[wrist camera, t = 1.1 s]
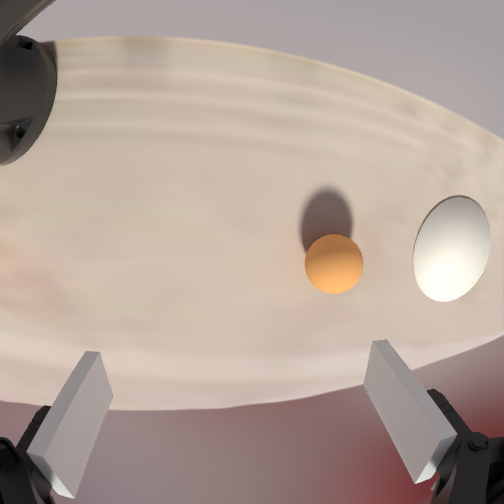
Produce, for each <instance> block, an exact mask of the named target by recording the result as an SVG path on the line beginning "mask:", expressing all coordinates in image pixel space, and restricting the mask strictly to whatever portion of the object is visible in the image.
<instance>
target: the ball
mask: <svg viewBox="0 0 504 504" xmlns="http://www.w3.org/2000/svg"><path fill="white" fill-rule="evenodd" d="M305 270H306V274H307V276H308V278H309V280H310V281H311V283H312V284H313V285H314V286H315V287H316V288H318V289H320V290H321V291H323V292H327V293H341V292H344V291H347V290H349V289H350V288H352V287H353V286H354V285H355V284H356V283H357V281H358V280H359V278H360V276H361V274H362V270H363V257H362V254H361V251H360V249H359V248H358V246H357V245H356V244H355V243H354V242H353V241H352V240H351V239H349V238H347V237H345V236H343V235H338V234H330V235H326V236H323V237H321V238H319V239H318V240H316V241H315V242H314V243H313V244H312V245H311V247H310V248H309V250H308V252H307V254H306V258H305Z"/></svg>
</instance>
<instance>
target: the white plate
mask: <svg viewBox="0 0 504 504" xmlns="http://www.w3.org/2000/svg"><path fill="white" fill-rule="evenodd" d="M490 245H491V233H490V226H489V222H488V219H487V217H486V215H485V213H484V211H483V210H482V209H481V207H480V206H479V205H478V204H477V203H475V202H474V201H472V200H470V199H467V198H462V197H456V198H451V199H448V200H446V201H444V202H442V203H441V204H439V205H438V206H437V207H436V208H435V209H434V210H433V211H432V212H431V213H430V214H429V215H428V217H427V218H426V220H425V221H424V223H423V225H422V227H421V229H420V231H419V233H418V236H417V239H416V243H415V247H414V253H413V269H414V275H415V278H416V281H417V284H418V286H419V287H420V289H421V290H422V291H423V293H424V294H426V295H427V296H428V297H430V298H431V299H433V300H436V301H450V300H454V299H456V298H458V297H460V296H462V295H463V294H465V293H466V292H467V291H469V290H470V289H471V288H472V287H473V285H474V284H475V283H476V282H477V280H478V279H479V277H480V276H481V274H482V272H483V270H484V268H485V266H486V263H487V260H488V257H489V252H490Z"/></svg>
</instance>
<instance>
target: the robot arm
mask: <svg viewBox="0 0 504 504" xmlns="http://www.w3.org/2000/svg"><path fill="white" fill-rule="evenodd" d="M54 1H55V0H0V166H2V165H6V164H9V163H12V162H14V161H15V160H17V159H18V158H20V157H21V156H22V155H24V154H25V153H26V152H27V151H28V150H29V149H30V147H31V146H32V145H33V144H34V143H35V141H36V140H37V138H38V137H39V135H40V134H41V132H42V130H43V128H44V126H45V124H46V122H47V120H48V117H49V115H50V112H51V109H52V105H53V101H54V97H55V91H56V70H55V64H54V61H53V58H52V56H51V54H50V52H49V51H48V49H47V48H46V47H45V46H44V45H42V44H41V43H39V42H37V41H35V40H33V39H31V38H29V37H25V36H20V35H16V34H17V33H18V32H19V31H20V30H21V29H22V28H23V27H24V26H25V25H27V24H28V23H29V22H30V21H31V20H32V19H33V18H34V17H36V16H37V15H38V14H39V13H40V12H42V11H43V10H44V9H45V8H46V7H48V6H49V5H50V4H51V3H53V2H54ZM363 386H364V388H365V390H366V392H367V393H368V395H369V397H370V399H371V401H372V403H373V405H374V406H375V408H376V410H377V412H378V414H379V416H380V418H381V419H382V421H383V423H384V425H385V427H386V429H387V431H388V432H389V435H390V437H391V438H392V440H393V442H394V444H395V446H396V448H397V450H398V452H399V454H400V456H401V458H402V460H403V462H404V464H405V466H406V468H407V470H408V471H409V473H410V475H411V477H412V479H413V481H414V483H415V484H416V483H419V482H421V481H424V480H427V479H429V478H431V477H432V476H433V474H434V473H435V471H436V469H437V471H438V473H439V475H440V476H439V477H438V479H437V481H436V482H435V483H434V485H433V486H432V488H431V490H433V489H434V488H435V489H434V493H433V496H432V499H431V502H430V504H504V437H497V438H490V439H489V438H488V437H487V436H485V435H484V434H482V433H479V432H472V431H471V430H470V429H469V428H468V426H467V425H466V424H465V422H464V421H463V420H462V418H461V417H460V416H459V415H458V413H457V412H456V411H455V410H454V408H453V407H452V406H451V404H449V402H448V401H447V399H446V398H445V396H444V395H443V394H441V393H439V392H438V391H437V390H435V389H431V390H427V391H426V390H425V389H424V387H423V386H422V385H421V384H420V382H419V381H418V379H417V378H416V377H415V376H414V374H413V373H412V372H411V370H410V369H409V368H408V366H407V365H406V364H405V362H404V361H403V360H402V359H401V357H400V356H399V355H398V353H397V352H396V351H395V350H394V348H393V347H392V346H391V345H390V343H389V342H388V341H387V339H386V340H379V341H372V346H371V351H370V357H369V362H368V366H367V371H366V376H365V380H364V385H363ZM112 398H113V393H112V390H111V387H110V384H109V381H108V378H107V375H106V372H105V368H104V365H103V362H102V358H101V355H100V352H91V351H86V352H85V353H84V355H83V356H82V358H81V359H80V361H79V362H78V364H77V366H76V367H75V369H74V370H73V372H72V374H71V375H70V377H69V378H68V380H67V382H66V383H65V385H64V387H63V388H62V390H61V392H60V393H59V395H58V397H57V398H56V400H55V402H54V403H53V405H52V407H51V406H46V405H45V406H43V407H42V408H41V409H40V410H39V411H37V412H36V414H35V416H34V417H33V419H32V422H30V424H29V426H28V429H26V431H25V432H24V434H23V436H22V437H21V440H20V441H19V443H18V444H17V446H16V448H15V447H14V445H13V444H12V442H11V441H10V440H9V439H7V438H4V437H0V504H55V502H54V499H53V497H52V496H51V494H50V490H51V488H52V487H53V488H54V490H55V491H56V492H57V493H58V494H59V495H63V496H66V497H70V498H74V499H75V496H76V493H77V490H78V487H79V485H80V481H81V479H82V476H83V473H84V470H85V467H86V465H87V462H88V459H89V456H90V454H91V451H92V448H93V446H94V443H95V441H96V438H97V435H98V433H99V430H100V428H101V425H102V422H103V420H104V418H105V415H106V413H107V410H108V408H109V405H110V403H111V400H112Z"/></svg>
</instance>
